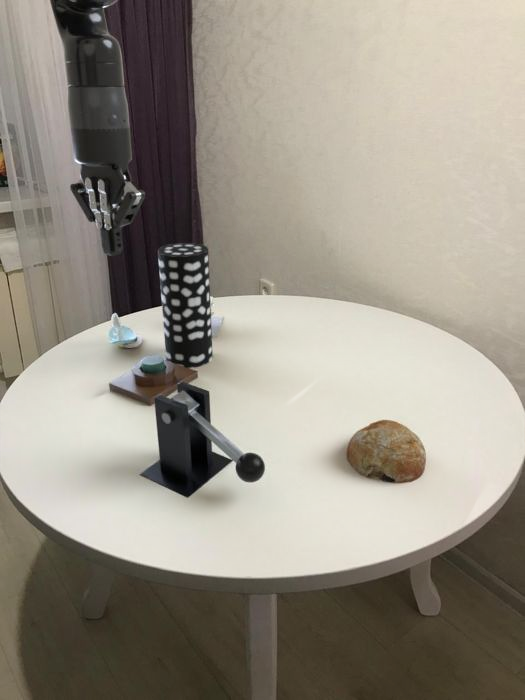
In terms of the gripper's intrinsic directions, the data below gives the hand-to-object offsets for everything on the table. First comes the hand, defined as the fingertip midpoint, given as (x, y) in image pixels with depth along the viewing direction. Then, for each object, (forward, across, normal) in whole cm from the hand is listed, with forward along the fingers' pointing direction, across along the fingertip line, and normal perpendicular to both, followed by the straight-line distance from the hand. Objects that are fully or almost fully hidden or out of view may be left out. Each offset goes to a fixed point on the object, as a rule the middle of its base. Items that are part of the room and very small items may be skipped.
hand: (112, 253), depth 84 cm
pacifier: (+23, +15, -14) cm, 31 cm away
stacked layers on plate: (+23, +9, -28) cm, 37 cm away
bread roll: (+23, -41, -6) cm, 48 cm away
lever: (+17, -26, +10) cm, 32 cm away
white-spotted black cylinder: (+23, +1, -16) cm, 28 cm away
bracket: (+23, -21, +10) cm, 33 cm away
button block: (+23, -2, -4) cm, 24 cm away
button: (+19, -2, -4) cm, 20 cm away
